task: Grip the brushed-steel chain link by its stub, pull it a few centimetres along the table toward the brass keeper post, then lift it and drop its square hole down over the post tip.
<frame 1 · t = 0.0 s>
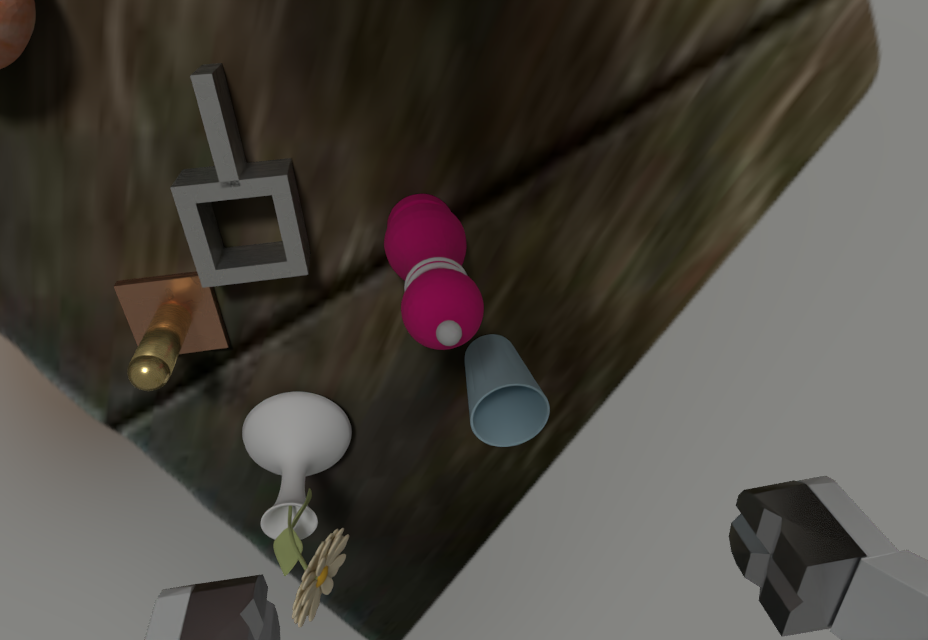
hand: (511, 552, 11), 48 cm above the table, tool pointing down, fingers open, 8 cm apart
pepper mill: (420, 224, 59), on the table
cup: (488, 353, 68), on the table
keeper post: (175, 312, 59), on the table
flower in vase: (302, 417, 68), on the table
steel link: (250, 213, 56), on the table
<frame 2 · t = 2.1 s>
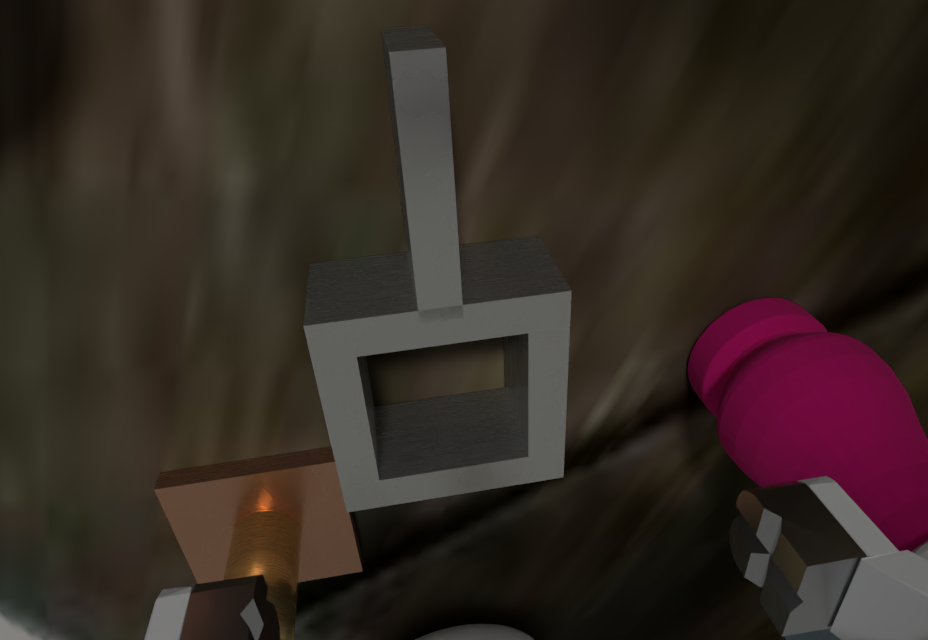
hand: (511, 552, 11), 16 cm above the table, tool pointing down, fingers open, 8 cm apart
pepper mill: (745, 349, 30), on the table
cup: (787, 542, 40), on the table
keeper post: (269, 517, 31), on the table
steel link: (435, 343, 27), on the table
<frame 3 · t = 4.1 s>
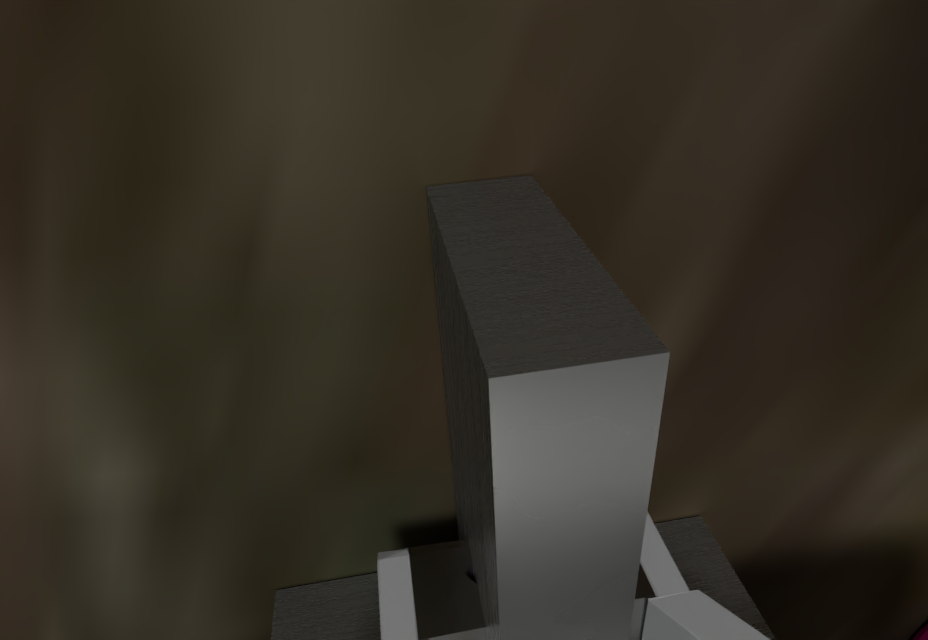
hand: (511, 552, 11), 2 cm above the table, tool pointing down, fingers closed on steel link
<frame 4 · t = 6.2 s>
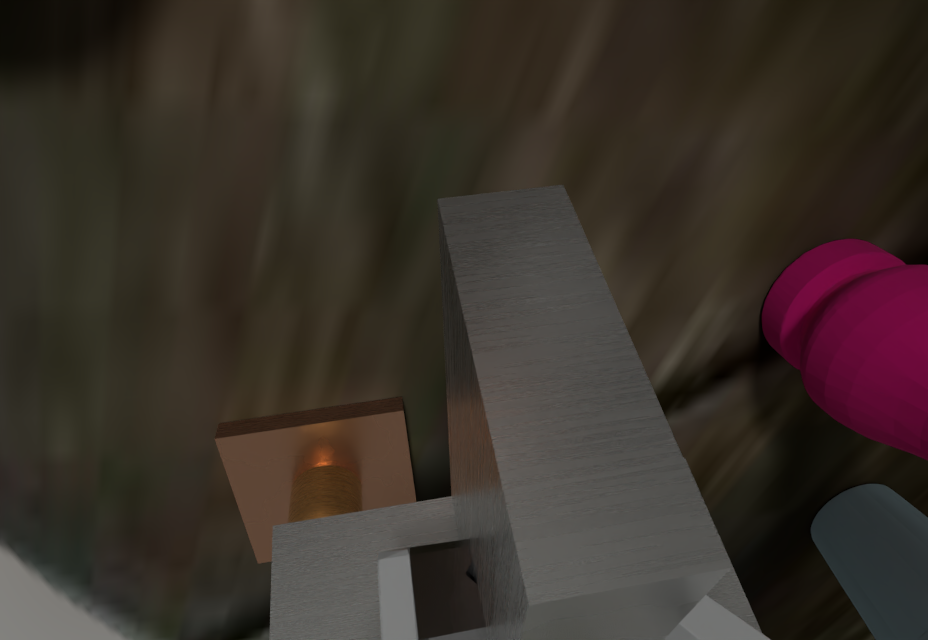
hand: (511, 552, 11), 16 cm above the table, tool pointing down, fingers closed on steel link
pepper mill: (820, 297, 29), on the table
cup: (850, 513, 38), on the table
keeper post: (327, 475, 30), on the table
steel link: (482, 563, 17), point 12 cm above the table, tilted 19°, touching gripper
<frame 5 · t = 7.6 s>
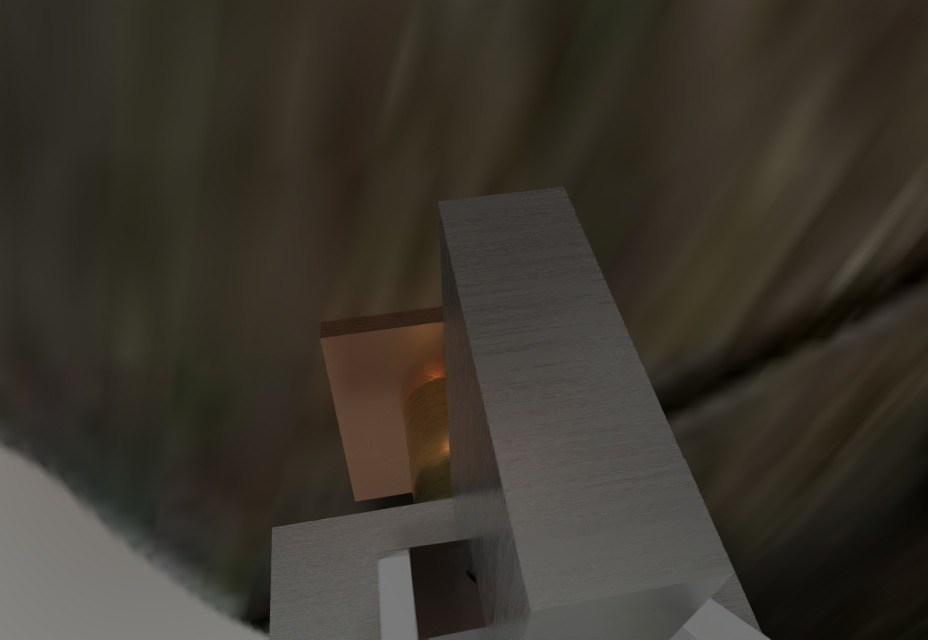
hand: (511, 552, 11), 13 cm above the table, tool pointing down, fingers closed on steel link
keeper post: (441, 395, 25), on the table
steel link: (482, 564, 17), point 9 cm above the table, tilted 18°, touching gripper
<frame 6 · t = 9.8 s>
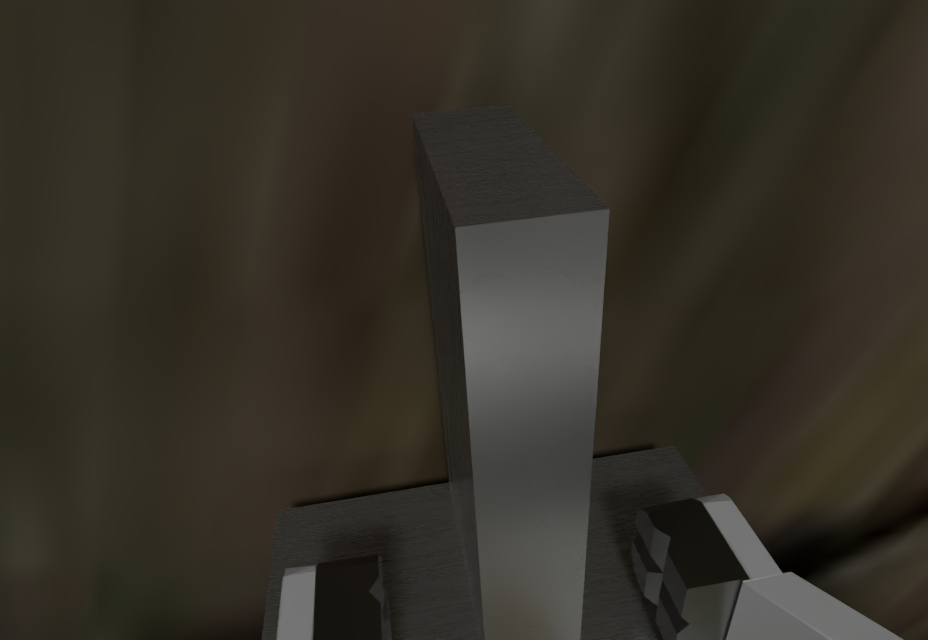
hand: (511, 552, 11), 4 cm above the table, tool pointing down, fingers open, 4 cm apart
steel link: (489, 600, 16), point 1 cm above the table, touching keeper post
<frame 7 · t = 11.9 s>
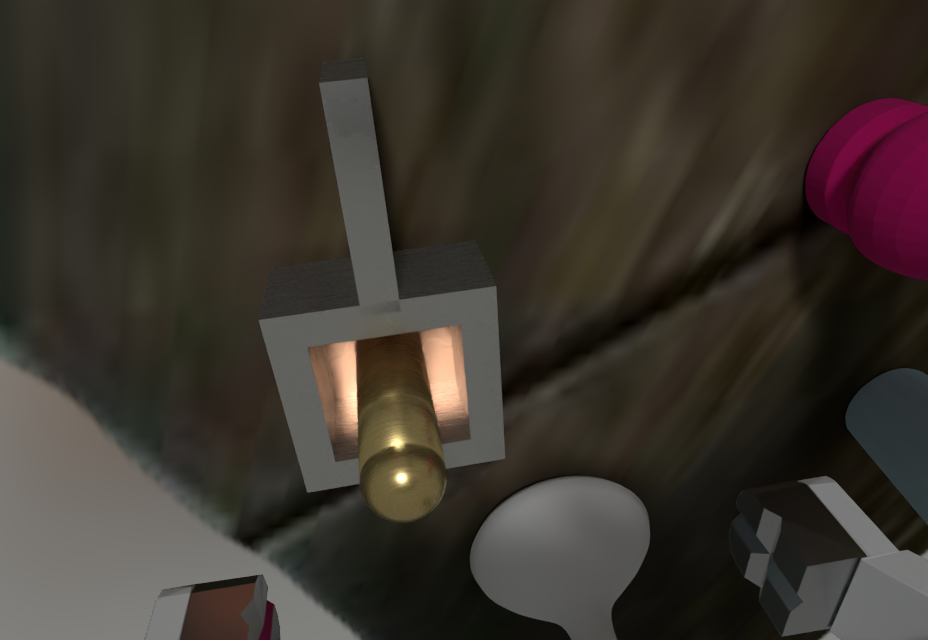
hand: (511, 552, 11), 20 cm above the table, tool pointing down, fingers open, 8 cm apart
pepper mill: (861, 162, 31), on the table
cup: (883, 401, 39), on the table
keeper post: (388, 340, 31), on the table
flower in vase: (560, 514, 40), on the table
steel link: (388, 339, 30), point 1 cm above the table, touching keeper post
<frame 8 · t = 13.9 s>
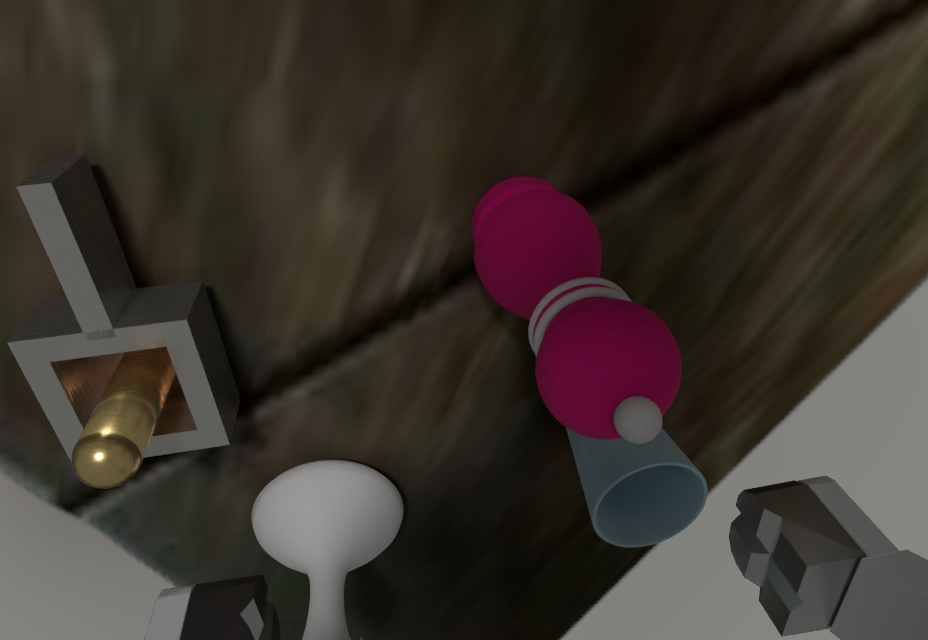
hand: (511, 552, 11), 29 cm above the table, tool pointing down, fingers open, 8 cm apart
pepper mill: (518, 222, 40), on the table
cup: (595, 403, 49), on the table
keeper post: (155, 352, 40), on the table
flower in vase: (334, 491, 49), on the table
steel link: (148, 353, 39), point 1 cm above the table, touching keeper post
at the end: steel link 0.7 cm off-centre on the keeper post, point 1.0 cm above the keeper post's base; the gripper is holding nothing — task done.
